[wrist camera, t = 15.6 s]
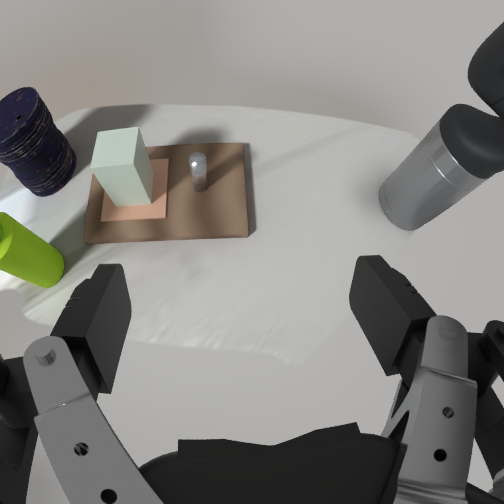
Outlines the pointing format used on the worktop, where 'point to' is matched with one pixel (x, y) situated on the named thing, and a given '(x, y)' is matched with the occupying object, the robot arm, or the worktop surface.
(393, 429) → the robot arm
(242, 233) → the walnut board
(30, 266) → the lime green stepped cylinder
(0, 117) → the dark blue ridged cylinder
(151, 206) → the terracotta pad
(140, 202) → the pale mint tall block
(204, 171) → the steel post
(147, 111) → the worktop surface
